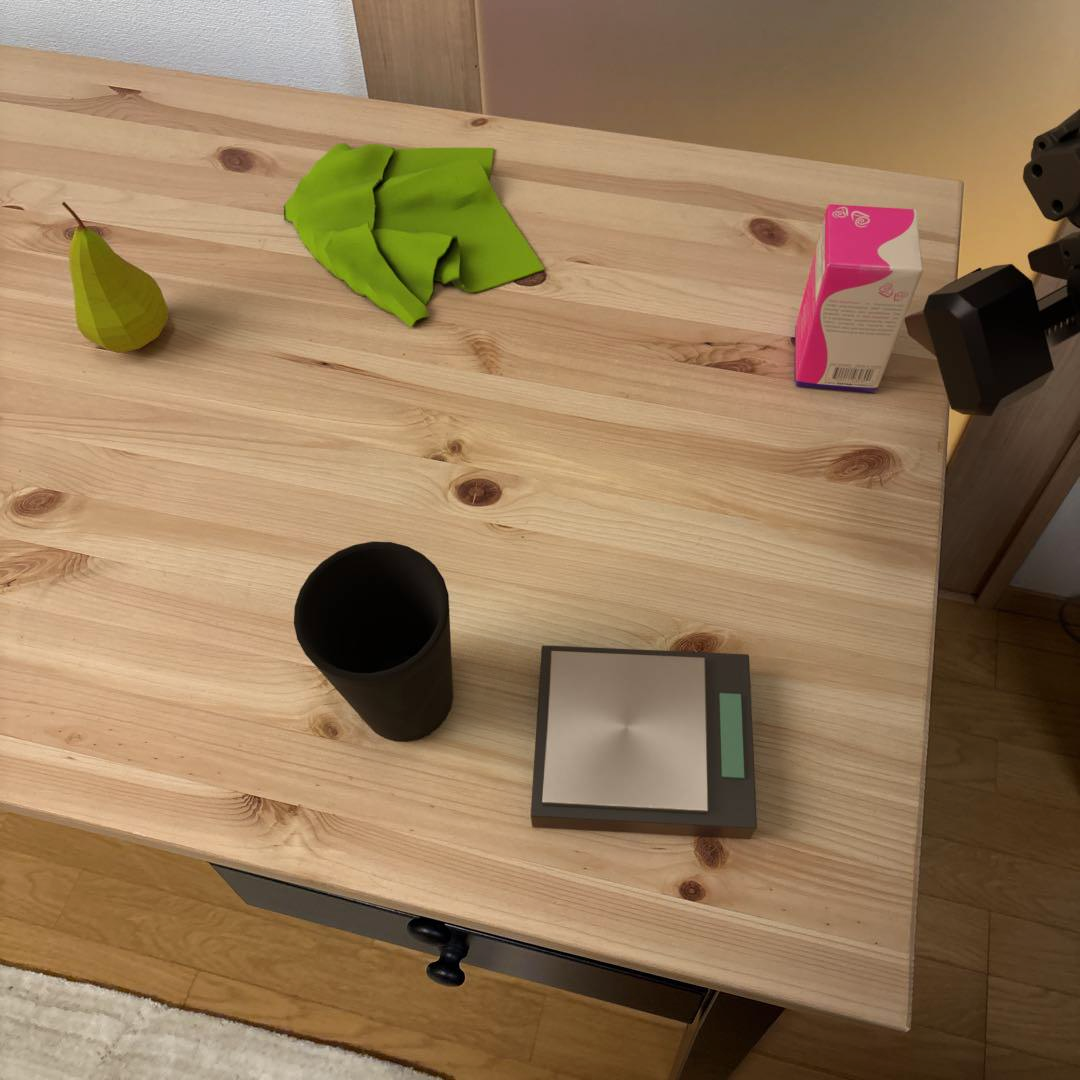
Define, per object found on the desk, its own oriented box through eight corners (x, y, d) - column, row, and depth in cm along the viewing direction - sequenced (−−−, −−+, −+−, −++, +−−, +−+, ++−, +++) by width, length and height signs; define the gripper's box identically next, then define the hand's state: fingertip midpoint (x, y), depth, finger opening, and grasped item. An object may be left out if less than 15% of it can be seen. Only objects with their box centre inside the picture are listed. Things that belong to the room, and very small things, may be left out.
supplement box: (874, 331, 73) (921, 206, 63) (876, 395, 70) (926, 274, 60) (793, 324, 73) (827, 199, 63) (792, 387, 70) (827, 267, 61)
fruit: (142, 380, 73) (71, 256, 62) (76, 352, 74) (-4, 226, 64) (196, 320, 75) (136, 192, 65) (131, 294, 77) (62, 165, 67)
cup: (495, 675, 60) (478, 582, 50) (424, 783, 57) (390, 708, 47) (390, 617, 62) (353, 517, 52) (316, 719, 59) (261, 633, 49)
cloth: (314, 135, 86) (308, 111, 84) (568, 155, 83) (568, 130, 81) (244, 313, 76) (234, 290, 73) (530, 340, 73) (528, 317, 71)
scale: (743, 670, 60) (750, 649, 57) (750, 839, 55) (759, 825, 52) (542, 661, 61) (541, 640, 58) (532, 827, 56) (529, 813, 53)
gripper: (1363, -1, 42) (1059, 92, 57) (1035, 162, 38) (796, 217, 52) (1397, 253, 46) (1101, 279, 60) (1099, 430, 41) (857, 412, 56)
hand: (970, 292), depth 57 cm, fingers open, 9 cm apart
